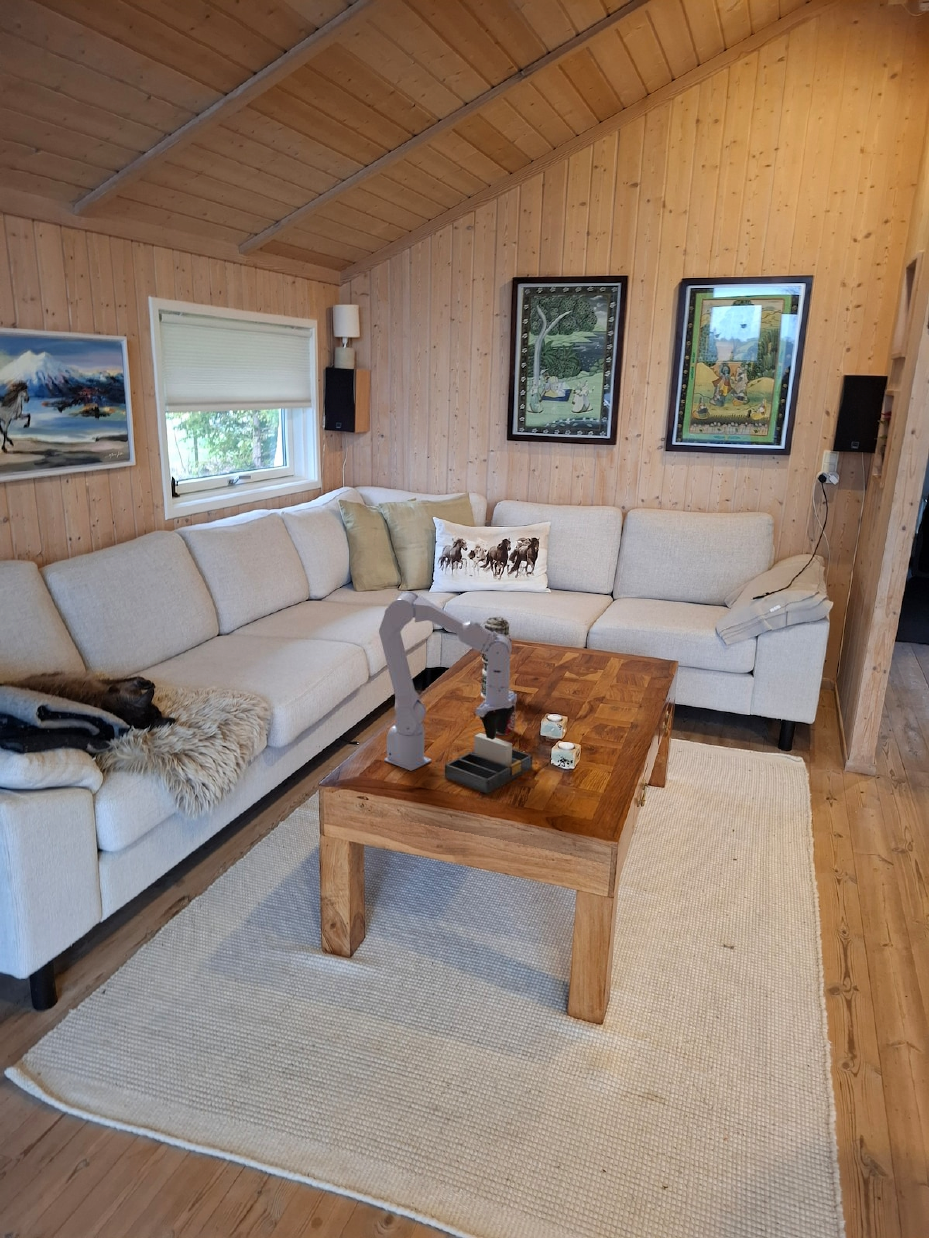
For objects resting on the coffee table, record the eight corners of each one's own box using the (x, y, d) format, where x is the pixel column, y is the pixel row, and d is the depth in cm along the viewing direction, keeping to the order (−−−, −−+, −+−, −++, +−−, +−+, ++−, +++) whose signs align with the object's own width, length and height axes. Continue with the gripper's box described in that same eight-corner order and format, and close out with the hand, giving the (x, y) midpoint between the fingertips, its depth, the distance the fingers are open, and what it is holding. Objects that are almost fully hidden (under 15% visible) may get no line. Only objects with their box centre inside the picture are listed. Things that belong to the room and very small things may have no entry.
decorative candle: (509, 691, 272) (512, 615, 265) (508, 701, 263) (511, 623, 256) (481, 689, 273) (483, 614, 266) (478, 699, 264) (481, 622, 257)
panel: (473, 760, 218) (474, 735, 216) (479, 757, 220) (480, 732, 218) (505, 772, 212) (506, 746, 210) (511, 769, 214) (512, 743, 212)
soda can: (513, 727, 243) (515, 687, 240) (515, 737, 237) (517, 696, 233) (488, 726, 243) (490, 687, 240) (490, 736, 236) (491, 696, 233)
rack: (444, 777, 211) (444, 763, 210) (490, 753, 225) (491, 740, 224) (487, 794, 203) (488, 779, 202) (532, 768, 217) (533, 754, 216)
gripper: (493, 695, 202) (491, 748, 206) (527, 680, 213) (525, 731, 217) (469, 688, 206) (468, 740, 210) (504, 674, 217) (502, 723, 221)
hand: (495, 735), depth 214 cm, fingers open, 4 cm apart
